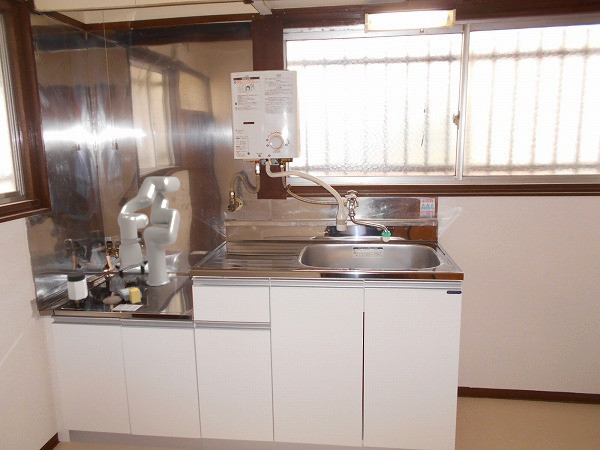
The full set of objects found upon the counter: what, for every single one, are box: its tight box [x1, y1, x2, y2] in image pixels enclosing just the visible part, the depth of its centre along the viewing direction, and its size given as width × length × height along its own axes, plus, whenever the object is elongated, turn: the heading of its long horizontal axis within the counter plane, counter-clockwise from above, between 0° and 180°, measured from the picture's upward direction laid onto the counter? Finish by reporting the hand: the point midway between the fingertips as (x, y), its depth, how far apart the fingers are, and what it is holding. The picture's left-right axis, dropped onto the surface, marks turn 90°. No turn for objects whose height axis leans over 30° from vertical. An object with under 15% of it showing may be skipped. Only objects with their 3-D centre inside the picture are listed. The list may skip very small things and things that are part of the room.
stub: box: [128, 286, 142, 304], centre depth 219 cm, size 4×5×6 cm
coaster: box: [102, 295, 124, 305], centre depth 220 cm, size 9×9×1 cm
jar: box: [66, 271, 89, 301], centre depth 224 cm, size 9×8×12 cm
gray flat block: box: [118, 286, 143, 302], centre depth 226 cm, size 8×12×3 cm, turn 35°
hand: (132, 276), depth 216 cm, fingers open, 9 cm apart
